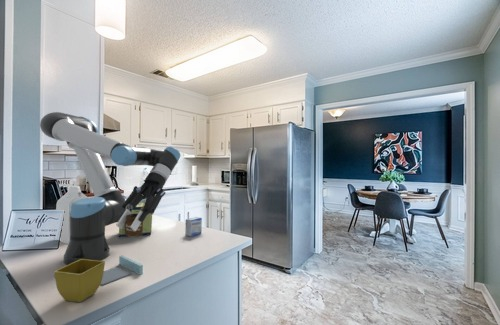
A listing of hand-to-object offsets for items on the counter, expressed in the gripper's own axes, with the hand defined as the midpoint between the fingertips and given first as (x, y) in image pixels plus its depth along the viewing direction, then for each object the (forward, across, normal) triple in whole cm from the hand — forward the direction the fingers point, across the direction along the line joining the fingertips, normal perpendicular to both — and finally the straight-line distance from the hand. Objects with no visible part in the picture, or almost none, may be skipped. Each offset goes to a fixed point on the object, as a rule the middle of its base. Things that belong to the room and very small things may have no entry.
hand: (126, 228), depth 83 cm
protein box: (-14, +29, -39) cm, 51 cm away
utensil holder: (0, 0, -5) cm, 5 cm away
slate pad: (+14, +3, -9) cm, 16 cm away
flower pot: (+22, 0, 0) cm, 22 cm away
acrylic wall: (+9, 0, -13) cm, 16 cm away
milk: (-2, +51, -28) cm, 58 cm away
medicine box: (-21, 0, -46) cm, 50 cm away
